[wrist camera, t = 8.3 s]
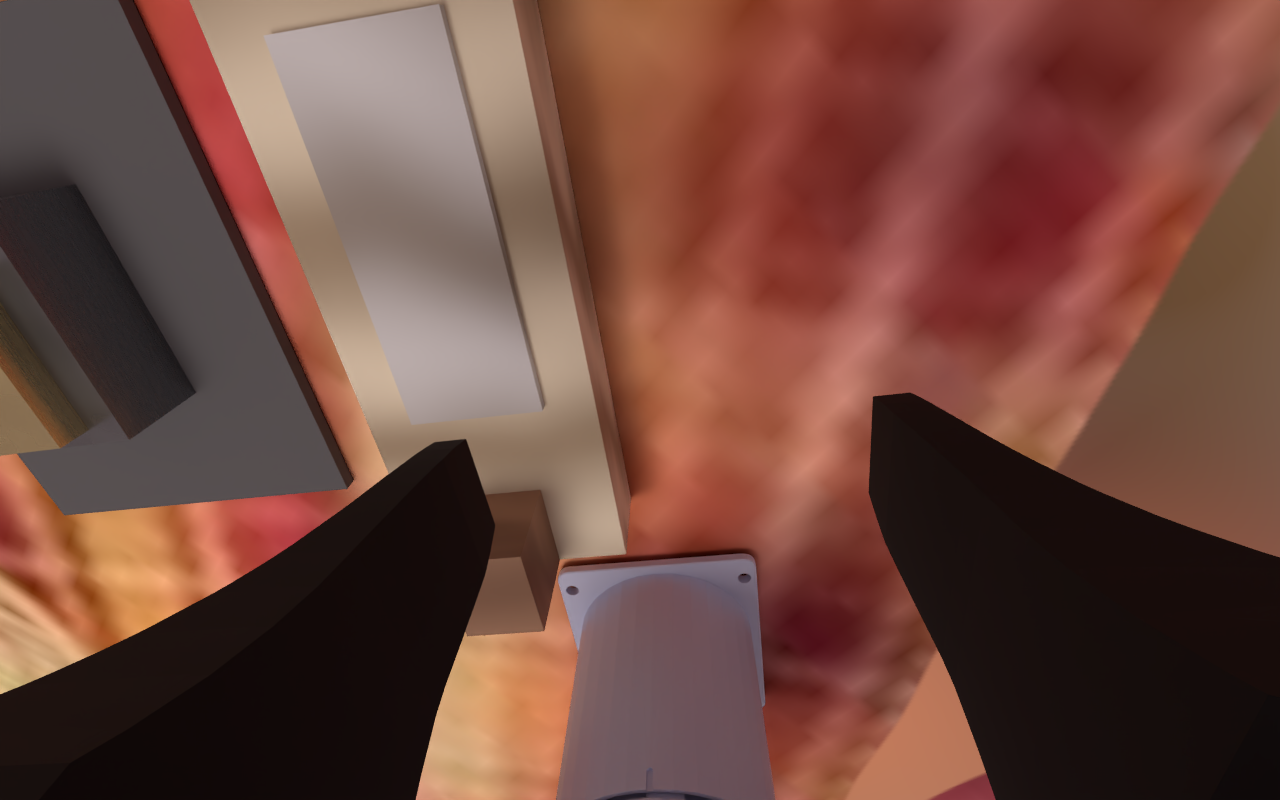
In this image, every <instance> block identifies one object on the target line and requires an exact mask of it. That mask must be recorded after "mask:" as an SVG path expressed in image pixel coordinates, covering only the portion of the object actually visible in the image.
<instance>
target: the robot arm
mask: <svg viewBox="0 0 1280 800" xmlns="http://www.w3.org/2000/svg"><path fill="white" fill-rule="evenodd" d="M869 495H870V498H871V501H872V505H873V508H874V511H875V514H876V517H877V520H878V523H879V526H880V529H881V532H882V535H883V538H884V540H885V543H886V545H887V547H888V549H889V552H890V554H891V556H892V558H893V560H894V562H895V564H896V566H897V568H898V570H899V572H900V574H901V576H902V578H903V580H904V582H905V584H906V587H907V589H908V591H909V593H910V595H911V597H912V599H913V601H914V603H915V605H916V607H917V609H918V611H919V613H920V615H921V617H922V619H923V621H924V623H925V625H926V627H927V629H928V631H929V633H930V635H931V637H932V639H933V641H934V643H935V645H936V647H937V649H938V651H939V653H940V655H941V657H942V659H943V661H944V664H945V666H946V668H947V670H948V673H949V675H950V677H951V679H952V682H953V684H954V686H955V689H956V692H957V694H958V697H959V699H960V702H961V705H962V707H963V710H964V713H965V716H966V718H967V720H968V724H969V726H970V729H971V732H972V734H973V737H974V740H975V742H976V745H977V748H978V750H979V753H980V756H981V759H982V762H983V764H984V767H985V770H986V773H987V776H988V779H989V782H990V784H991V787H992V790H993V793H994V796H995V799H996V800H1280V557H1276V556H1273V555H1269V554H1266V553H1263V552H1260V551H1257V550H1254V549H1251V548H1248V547H1245V546H1242V545H1239V544H1236V543H1234V542H1230V541H1227V540H1225V539H1222V538H1219V537H1216V536H1212V535H1210V534H1207V533H1204V532H1201V531H1198V530H1195V529H1192V528H1190V527H1187V526H1184V525H1181V524H1178V523H1176V522H1173V521H1171V520H1168V519H1165V518H1162V517H1160V516H1157V515H1154V514H1152V513H1150V512H1147V511H1145V510H1142V509H1140V508H1138V507H1135V506H1132V505H1130V504H1128V503H1125V502H1123V501H1120V500H1118V499H1115V498H1113V497H1111V496H1108V495H1106V494H1103V493H1101V492H1099V491H1096V490H1094V489H1092V488H1090V487H1088V486H1085V485H1083V484H1081V483H1079V482H1077V481H1075V480H1073V479H1071V478H1068V477H1066V476H1064V475H1062V474H1060V473H1058V472H1056V471H1054V470H1052V469H1050V468H1048V467H1046V466H1044V465H1042V464H1040V463H1038V462H1036V461H1034V460H1032V459H1030V458H1028V457H1026V456H1024V455H1022V454H1020V453H1019V452H1017V451H1015V450H1013V449H1011V448H1009V447H1007V446H1005V445H1004V444H1002V443H1000V442H998V441H996V440H995V439H993V438H991V437H989V436H987V435H986V434H984V433H982V432H980V431H979V430H977V429H975V428H973V427H972V426H970V425H968V424H966V423H965V422H963V421H961V420H959V419H958V418H956V417H954V416H952V415H951V414H949V413H947V412H946V411H944V410H942V409H940V408H939V407H937V406H935V405H933V404H932V403H930V402H928V401H926V400H924V399H922V398H920V397H919V396H916V395H914V394H912V393H903V394H893V395H883V396H874V397H873V410H872V432H871V454H870V476H869ZM494 531H495V522H494V519H493V516H492V514H491V511H490V508H489V505H488V502H487V499H486V496H485V493H484V490H483V487H482V484H481V481H480V478H479V475H478V472H477V469H476V466H475V463H474V460H473V457H472V454H471V451H470V449H469V446H468V443H467V440H466V439H459V440H450V441H440V442H434V443H432V444H431V445H429V446H427V447H426V448H424V449H423V450H421V451H420V452H418V453H417V454H415V455H414V456H412V457H411V458H410V459H408V460H407V461H406V462H404V463H403V464H402V465H400V466H399V467H398V468H396V469H395V470H394V471H392V472H391V473H390V474H388V475H387V476H386V477H385V478H383V479H382V480H381V481H379V482H378V483H377V484H375V485H374V486H373V487H371V488H370V489H369V490H367V491H366V492H365V493H363V494H362V495H361V496H360V497H358V498H357V499H356V500H354V501H353V502H352V503H350V504H349V505H348V506H346V507H345V508H344V509H342V510H341V511H339V512H338V513H337V514H335V515H334V516H332V517H331V518H330V519H328V520H327V521H325V522H324V523H322V524H321V525H320V526H318V527H317V528H315V529H314V530H313V531H311V532H310V533H308V534H307V535H306V536H304V537H303V538H301V539H300V540H298V541H297V542H296V543H294V544H293V545H291V546H290V547H288V548H287V549H285V550H284V551H282V552H281V553H279V554H278V555H276V556H275V557H273V558H271V559H270V560H268V561H267V562H265V563H264V564H262V565H260V566H259V567H257V568H255V569H254V570H252V571H250V572H249V573H247V574H245V575H244V576H242V577H240V578H239V579H237V580H235V581H234V582H232V583H231V584H229V585H227V586H225V587H224V588H222V589H220V590H218V591H217V592H215V593H213V594H211V595H209V596H207V597H206V598H204V599H202V600H200V601H198V602H196V603H194V604H192V605H191V606H189V607H187V608H185V609H183V610H181V611H179V612H177V613H175V614H174V615H172V616H170V617H168V618H166V619H164V620H162V621H160V622H159V623H157V624H155V625H153V626H151V627H149V628H147V629H145V630H143V631H141V632H139V633H137V634H135V635H133V636H131V637H129V638H127V639H125V640H123V641H121V642H118V643H116V644H114V645H112V646H110V647H108V648H106V649H104V650H102V651H100V652H97V653H95V654H93V655H91V656H89V657H86V658H84V659H82V660H80V661H77V662H75V663H73V664H71V665H69V666H66V667H64V668H62V669H60V670H57V671H55V672H53V673H51V674H48V675H46V676H44V677H41V678H39V679H37V680H34V681H32V682H30V683H27V684H25V685H23V686H20V687H18V688H15V689H13V690H10V691H8V692H5V693H3V694H0V800H416V796H417V791H418V787H419V782H420V778H421V773H422V769H423V765H424V761H425V757H426V753H427V749H428V745H429V741H430V737H431V733H432V729H433V725H434V721H435V717H436V714H437V710H438V707H439V704H440V701H441V698H442V695H443V692H444V688H445V685H446V683H447V680H448V677H449V674H450V672H451V669H452V666H453V664H454V661H455V658H456V655H457V653H458V650H459V647H460V644H461V642H462V639H463V636H464V633H465V631H466V628H467V625H468V622H469V620H470V617H471V614H472V611H473V609H474V606H475V603H476V600H477V597H478V594H479V592H480V589H481V586H482V583H483V580H484V577H485V574H486V570H487V565H488V561H489V556H490V552H491V547H492V541H493V536H494ZM740 574H748V575H745V576H741V575H740ZM558 583H559V586H560V590H561V593H562V597H563V600H564V604H565V607H566V611H567V614H568V618H569V621H570V625H571V628H572V632H573V635H574V639H575V642H576V646H577V649H578V658H577V665H576V672H575V678H574V685H573V691H572V698H571V704H570V711H569V717H568V724H567V730H566V737H565V743H564V750H563V757H562V763H561V770H560V776H559V783H558V789H557V796H556V800H775V794H774V787H773V780H772V773H771V766H770V759H769V752H768V745H767V738H766V731H765V724H764V717H763V710H762V707H763V706H764V705H765V690H764V675H763V660H762V645H761V631H760V616H759V601H758V586H757V571H756V563H755V560H754V558H753V557H752V556H751V555H749V554H743V553H741V554H728V555H715V556H701V557H688V558H675V559H662V560H649V561H635V562H622V563H609V564H596V565H583V566H569V567H565V568H563V569H562V570H561V571H560V573H559V577H558ZM570 586H575V587H577V588H571V587H570Z"/></svg>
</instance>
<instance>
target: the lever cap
mask: <svg viewBox="0 0 1280 800" xmlns="http://www.w3.org/2000/svg"><path fill="white" fill-rule="evenodd" d="M195 393H196V391H195V389H194V388H193V386H192V384H191V383H190V381H189V379H188V377H187V376H186V374H185V372H184V370H183V369H182V367H181V365H180V363H179V362H178V360H177V358H176V357H175V355H174V353H173V351H172V350H171V348H170V346H169V344H168V343H167V341H166V339H165V338H164V336H163V334H162V332H161V331H160V329H159V327H158V325H157V324H156V322H155V320H154V318H153V317H152V315H151V313H150V312H149V310H148V308H147V306H146V305H145V303H144V301H143V299H142V298H141V296H140V294H139V293H138V291H137V289H136V287H135V286H134V284H133V282H132V280H131V279H130V277H129V275H128V273H127V272H126V270H125V268H124V267H123V265H122V263H121V261H120V260H119V258H118V256H117V254H116V253H115V251H114V249H113V248H112V246H111V244H110V242H109V241H108V239H107V237H106V235H105V234H104V232H103V230H102V229H101V227H100V225H99V223H98V222H97V220H96V218H95V216H94V215H93V213H92V211H91V209H90V208H89V206H88V204H87V203H86V201H85V199H84V197H83V196H82V194H81V192H80V190H79V189H78V187H77V185H76V184H73V185H67V186H61V187H56V188H50V189H44V190H38V191H33V192H27V193H21V194H15V195H9V196H4V197H0V456H1V455H9V454H17V453H26V452H34V451H43V450H51V449H60V448H66V447H75V446H83V445H92V444H100V443H109V442H117V441H126V440H130V439H132V438H133V437H134V436H136V435H137V434H139V433H140V432H142V431H143V430H144V429H146V428H147V427H149V426H150V425H151V424H153V423H154V422H156V421H157V420H159V419H160V418H161V417H163V416H164V415H166V414H167V413H168V412H170V411H171V410H173V409H174V408H176V407H177V406H178V405H180V404H181V403H183V402H184V401H185V400H187V399H188V398H190V397H191V396H193V395H194V394H195Z"/></svg>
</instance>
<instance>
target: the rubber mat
mask: <svg viewBox="0 0 1280 800" xmlns="http://www.w3.org/2000/svg"><path fill="white" fill-rule="evenodd" d="M73 184H76V185H77V187H78V189H79V190H80V192H81V194H82V196H83V197H84V199H85V201H86V203H87V204H88V206H89V208H90V209H91V211H92V213H93V215H94V216H95V218H96V220H97V222H98V223H99V225H100V227H101V229H102V230H103V232H104V234H105V235H106V237H107V239H108V241H109V242H110V244H111V246H112V248H113V249H114V251H115V253H116V254H117V256H118V258H119V260H120V261H121V263H122V265H123V267H124V268H125V270H126V272H127V273H128V275H129V277H130V279H131V280H132V282H133V284H134V286H135V287H136V289H137V291H138V293H139V294H140V296H141V298H142V299H143V301H144V303H145V305H146V306H147V308H148V310H149V312H150V313H151V315H152V317H153V318H154V320H155V322H156V324H157V325H158V327H159V329H160V331H161V332H162V334H163V336H164V338H165V339H166V341H167V343H168V344H169V346H170V348H171V350H172V351H173V353H174V355H175V357H176V358H177V360H178V362H179V363H180V365H181V367H182V369H183V370H184V372H185V374H186V376H187V377H188V379H189V381H190V383H191V384H192V386H193V388H194V389H195V391H196V393H195V394H194V395H193V396H191V397H190V398H188V399H187V400H185V401H184V402H183V403H181V404H180V405H178V406H177V407H176V408H174V409H173V410H171V411H170V412H168V413H167V414H166V415H164V416H163V417H161V418H160V419H159V420H157V421H156V422H154V423H153V424H151V425H150V426H149V427H147V428H146V429H144V430H143V431H142V432H140V433H139V434H137V435H136V436H134V437H133V438H132V439H130V440H126V441H117V442H109V443H100V444H92V445H83V446H75V447H66V448H60V449H51V450H43V451H34V452H26V453H17V454H18V456H19V457H20V458H21V460H22V461H23V462H24V463H25V465H26V466H27V467H28V469H29V470H30V471H31V473H32V474H33V475H34V476H35V478H36V479H37V480H38V482H39V483H40V484H41V485H42V487H43V488H44V489H45V491H46V492H47V493H48V495H49V496H50V497H51V498H52V500H53V501H54V502H55V504H56V505H57V506H58V508H59V509H60V510H61V511H62V513H63V514H64V515H72V514H83V513H93V512H104V511H115V510H125V509H136V508H147V507H158V506H168V505H179V504H190V503H200V502H211V501H222V500H233V499H243V498H254V497H265V496H275V495H286V494H297V493H308V492H318V491H329V490H340V489H348V487H349V486H350V485H351V483H352V482H353V479H352V477H351V475H350V472H349V470H348V468H347V466H346V464H345V461H344V459H343V457H342V455H341V453H340V451H339V448H338V446H337V444H336V442H335V440H334V438H333V435H332V433H331V431H330V429H329V427H328V424H327V422H326V420H325V418H324V416H323V414H322V411H321V409H320V407H319V405H318V403H317V401H316V398H315V396H314V394H313V392H312V390H311V387H310V385H309V383H308V381H307V379H306V377H305V374H304V372H303V370H302V368H301V366H300V363H299V361H298V359H297V357H296V355H295V353H294V350H293V348H292V346H291V344H290V342H289V340H288V337H287V335H286V333H285V331H284V329H283V326H282V324H281V322H280V320H279V318H278V316H277V313H276V311H275V309H274V307H273V305H272V303H271V300H270V298H269V296H268V294H267V292H266V289H265V287H264V285H263V283H262V281H261V279H260V276H259V274H258V272H257V270H256V268H255V266H254V263H253V261H252V259H251V257H250V255H249V252H248V250H247V248H246V246H245V244H244V242H243V239H242V237H241V235H240V233H239V231H238V228H237V226H236V224H235V222H234V220H233V218H232V215H231V213H230V211H229V209H228V207H227V205H226V202H225V200H224V198H223V196H222V194H221V191H220V189H219V187H218V185H217V183H216V181H215V178H214V176H213V174H212V172H211V170H210V168H209V165H208V163H207V161H206V159H205V157H204V154H203V152H202V150H201V148H200V146H199V144H198V141H197V139H196V137H195V135H194V133H193V131H192V128H191V126H190V124H189V122H188V120H187V117H186V115H185V113H184V111H183V109H182V107H181V104H180V102H179V100H178V98H177V96H176V94H175V91H174V89H173V87H172V85H171V83H170V80H169V78H168V76H167V74H166V72H165V70H164V67H163V65H162V63H161V61H160V59H159V56H158V54H157V52H156V50H155V48H154V46H153V43H152V41H151V39H150V37H149V35H148V33H147V30H146V28H145V26H144V24H143V22H142V19H141V17H140V15H139V13H138V11H137V9H136V6H135V4H134V2H133V0H7V1H2V2H0V197H4V196H9V195H15V194H21V193H27V192H33V191H38V190H44V189H50V188H56V187H61V186H67V185H73Z"/></svg>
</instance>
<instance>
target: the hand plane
mask: <svg viewBox="0 0 1280 800" xmlns="http://www.w3.org/2000/svg"><path fill="white" fill-rule="evenodd" d="M190 3H191V5H192V7H193V10H194V12H195V14H196V17H197V19H198V21H199V24H200V26H201V29H202V31H203V33H204V36H205V38H206V40H207V43H208V45H209V48H210V50H211V52H212V55H213V57H214V59H215V62H216V64H217V67H218V69H219V71H220V74H221V76H222V78H223V81H224V83H225V86H226V88H227V90H228V93H229V95H230V97H231V100H232V102H233V105H234V107H235V109H236V112H237V114H238V116H239V119H240V121H241V124H242V126H243V128H244V131H245V133H246V135H247V138H248V140H249V143H250V145H251V147H252V150H253V152H254V154H255V157H256V159H257V162H258V164H259V166H260V169H261V171H262V173H263V176H264V178H265V181H266V183H267V185H268V188H269V190H270V192H271V195H272V197H273V200H274V202H275V204H276V207H277V209H278V211H279V214H280V216H281V219H282V221H283V223H284V226H285V228H286V230H287V233H288V235H289V238H290V240H291V242H292V245H293V247H294V249H295V252H296V254H297V257H298V259H299V261H300V264H301V266H302V268H303V271H304V273H305V276H306V278H307V280H308V283H309V285H310V287H311V290H312V292H313V295H314V297H315V299H316V302H317V304H318V306H319V309H320V311H321V314H322V316H323V318H324V321H325V323H326V325H327V328H328V330H329V333H330V335H331V337H332V340H333V342H334V344H335V347H336V349H337V352H338V354H339V356H340V359H341V361H342V363H343V366H344V368H345V371H346V373H347V375H348V378H349V380H350V382H351V385H352V387H353V390H354V392H355V394H356V397H357V399H358V401H359V404H360V406H361V409H362V411H363V413H364V416H365V418H366V420H367V423H368V425H369V427H370V430H371V432H372V435H373V437H374V439H375V442H376V444H377V446H378V449H379V451H380V454H381V456H382V458H383V461H384V463H385V465H386V468H387V470H388V473H389V474H390V473H391V472H392V471H394V470H395V469H396V468H398V467H399V466H400V465H402V464H403V463H404V462H406V461H407V460H408V459H410V458H411V457H412V456H414V455H415V454H417V453H418V452H420V451H421V450H423V449H424V448H426V447H427V446H429V445H431V444H432V443H434V442H440V441H450V440H459V439H466V440H467V443H468V446H469V449H470V451H471V454H472V457H473V460H474V463H475V466H476V469H477V472H478V475H479V478H480V481H481V484H482V487H483V490H484V493H485V496H486V499H487V502H488V505H489V508H490V511H491V514H492V516H493V519H494V522H495V531H494V536H493V541H492V547H491V552H490V556H489V561H488V565H487V570H486V574H485V577H484V580H483V583H482V586H481V589H480V592H479V594H478V597H477V600H476V603H475V606H474V609H473V611H472V614H471V617H470V620H469V622H468V625H467V628H466V631H465V632H466V634H467V636H478V635H493V634H509V633H524V632H540V631H544V630H545V625H546V621H547V616H548V611H549V607H550V602H551V598H552V593H553V588H554V584H555V579H556V575H557V570H558V566H559V561H560V559H570V558H583V557H596V556H609V555H622V554H626V550H627V538H628V526H629V515H630V503H631V496H630V491H629V485H628V480H627V475H626V469H625V464H624V459H623V453H622V448H621V443H620V438H619V432H618V427H617V422H616V416H615V411H614V406H613V400H612V395H611V390H610V384H609V379H608V374H607V369H606V363H605V358H604V353H603V347H602V342H601V337H600V331H599V326H598V321H597V316H596V310H595V305H594V300H593V294H592V289H591V284H590V278H589V273H588V268H587V262H586V257H585V252H584V247H583V241H582V236H581V231H580V225H579V220H578V215H577V209H576V204H575V199H574V193H573V188H572V183H571V178H570V172H569V167H568V162H567V156H566V151H565V146H564V140H563V135H562V130H561V125H560V119H559V114H558V109H557V103H556V98H555V93H554V87H553V82H552V77H551V71H550V66H549V61H548V56H547V50H546V45H545V40H544V34H543V29H542V24H541V18H540V13H539V8H538V2H537V0H190Z"/></svg>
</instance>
